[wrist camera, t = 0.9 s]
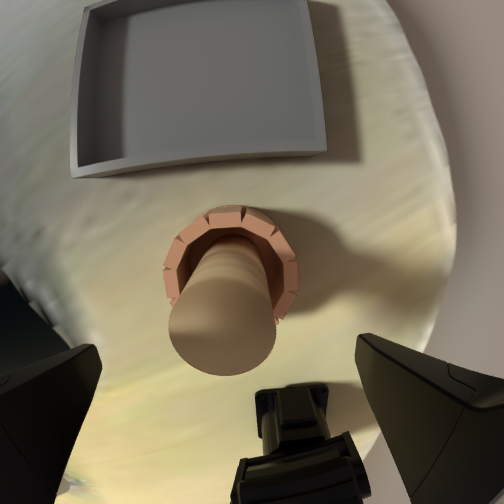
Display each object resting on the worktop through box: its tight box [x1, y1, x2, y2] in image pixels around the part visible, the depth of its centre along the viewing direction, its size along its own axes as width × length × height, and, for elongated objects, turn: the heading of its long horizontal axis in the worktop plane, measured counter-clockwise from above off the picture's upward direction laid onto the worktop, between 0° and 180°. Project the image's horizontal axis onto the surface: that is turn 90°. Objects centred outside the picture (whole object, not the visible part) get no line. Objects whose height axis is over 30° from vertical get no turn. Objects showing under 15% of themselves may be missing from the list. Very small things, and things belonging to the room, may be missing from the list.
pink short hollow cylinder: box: [163, 205, 298, 325], centre depth 18 cm, size 8×8×4 cm
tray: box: [70, 0, 327, 178], centre depth 16 cm, size 14×16×4 cm
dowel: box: [169, 234, 276, 376], centre depth 15 cm, size 4×4×10 cm
